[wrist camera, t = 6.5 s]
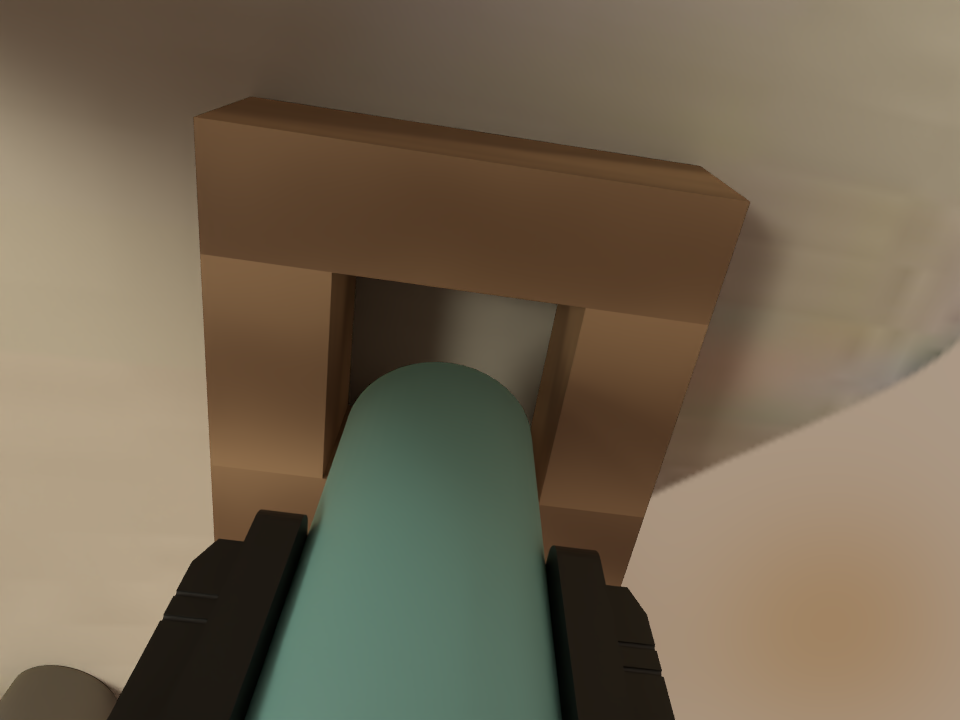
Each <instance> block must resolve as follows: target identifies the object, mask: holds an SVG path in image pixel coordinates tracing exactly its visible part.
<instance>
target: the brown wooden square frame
mask: <svg viewBox="0 0 960 720" xmlns="http://www.w3.org/2000/svg"><path fill="white" fill-rule="evenodd" d="M193 119H194V139H195V159H196V179H197V199H198V219H199V239H200V259H201V279H202V299H203V319H204V339H205V359H206V379H207V399H208V419H209V439H210V459H211V479H212V499H213V519H214V540H215V541H217V540H218V539H227V540H236V541H244V540H245V537H246V535H247V533H248V531H249V529H250V527H251V524H252V522H253V520H254V518H255V516H256V514H257V512H258V511H259V510H261V509H263V510H272V511H280V512H288V513H297V514H305V515H307V517H308V533H309V530H310V527H311V524H312V521H313V518H314V515H315V512H316V509H317V506H318V504H319V501H320V498H321V495H322V492H323V489H324V486H325V483H326V480H327V477H328V474H329V471H330V469H331V466H332V463H333V460H334V457H335V454H336V451H337V448H338V445H339V442H340V439H341V436H342V434H343V431H344V428H345V425H346V422H347V419H348V416H349V413H350V411H351V409H352V407H353V406H349V405H348V398H349V382H350V367H351V351H352V336H353V320H354V305H355V289H356V276H361V277H368V278H375V279H382V280H389V281H397V282H404V283H411V284H418V285H425V286H432V287H439V288H447V289H454V290H461V291H468V292H475V293H482V294H489V295H496V296H504V297H511V298H518V299H525V300H532V301H539V302H546V303H554V304H558V305H557V310H556V314H555V319H554V323H553V328H552V333H551V337H550V342H549V346H548V351H547V356H546V360H545V365H544V369H543V374H542V379H541V383H540V388H539V392H538V397H537V402H536V406H535V411H534V415H533V420H532V425H531V429H530V430H531V436H532V445H533V454H534V463H535V473H536V482H537V491H538V501H539V510H540V519H541V528H542V538H543V547H544V556H545V564H546V560H547V557H548V553H549V550H550V548H551V546H552V545H556V546H564V547H572V548H580V549H589V550H596V551H597V552H598V553H599V555H600V559H601V563H602V568H603V573H604V578H605V583H606V585H611V586H620V587H621V584H622V581H623V578H624V575H625V572H626V569H627V566H628V563H629V560H630V557H631V554H632V551H633V548H634V545H635V542H636V539H637V536H638V533H639V531H640V528H641V525H642V522H643V519H644V515H645V513H646V510H647V507H648V504H649V501H650V498H651V495H652V492H653V489H654V486H655V483H656V480H657V477H658V474H659V471H660V468H661V465H662V462H663V459H664V456H665V453H666V450H667V447H668V444H669V441H670V438H671V435H672V432H673V430H674V427H675V424H676V421H677V418H678V415H679V412H680V409H681V406H682V403H683V400H684V397H685V394H686V391H687V388H688V385H689V382H690V379H691V376H692V373H693V370H694V367H695V364H696V361H697V358H698V355H699V352H700V349H701V346H702V343H703V340H704V337H705V334H706V331H707V328H708V326H709V323H710V320H711V317H712V314H713V311H714V308H715V305H716V302H717V299H718V296H719V293H720V290H721V287H722V284H723V281H724V278H725V275H726V272H727V269H728V266H729V263H730V260H731V257H732V254H733V251H734V248H735V245H736V242H737V239H738V236H739V233H740V230H741V227H742V225H743V222H744V219H745V216H746V213H747V210H748V207H749V204H750V201H748V200H747V199H746V198H744V197H743V196H741V195H740V194H739V193H737V192H736V191H734V190H733V189H732V188H730V187H729V186H727V185H726V184H725V183H723V182H722V181H720V180H719V179H718V178H716V177H715V176H713V175H712V174H711V173H709V172H708V171H706V170H705V169H704V168H702V167H701V166H696V165H690V164H683V163H677V162H670V161H664V160H657V159H651V158H644V157H638V156H631V155H625V154H619V153H612V152H606V151H599V150H593V149H586V148H580V147H573V146H567V145H560V144H554V143H548V142H541V141H535V140H528V139H522V138H515V137H509V136H502V135H496V134H489V133H483V132H477V131H470V130H464V129H457V128H451V127H444V126H438V125H431V124H425V123H418V122H412V121H406V120H399V119H393V118H386V117H380V116H373V115H367V114H360V113H354V112H347V111H341V110H335V109H328V108H322V107H315V106H309V105H302V104H296V103H289V102H283V101H277V100H270V99H264V98H257V97H248V98H245V99H243V100H240V101H237V102H234V103H231V104H228V105H226V106H223V107H220V108H217V109H214V110H212V111H209V112H206V113H203V114H200V115H198V116H195V117H193ZM307 536H308V535H307Z"/></svg>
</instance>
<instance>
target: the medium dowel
mask: <svg viewBox="0 0 960 720" xmlns="http://www.w3.org/2000/svg"><path fill="white" fill-rule="evenodd" d="M244 720H562V714H561V704H560V695H559V686H558V677H557V667H556V658H555V649H554V639H553V630H552V621H551V612H550V602H549V593H548V584H547V575H546V565H545V556H544V547H543V538H542V528H541V519H540V510H539V501H538V491H537V482H536V473H535V463H534V454H533V445H532V436H531V430H530V425H529V422H528V419H527V416H526V414H525V412H524V410H523V408H522V406H521V405H520V404H519V402H518V401H517V399H516V398H515V397H514V396H513V395H512V394H511V393H510V392H509V390H508V389H507V388H505V387H504V386H503V385H502V384H500V383H499V382H498V381H496V380H495V379H493V378H492V377H490V376H488V375H487V374H484V373H482V372H480V371H478V370H476V369H473V368H470V367H466V366H463V365H458V364H453V363H444V362H424V363H418V364H412V365H408V366H404V367H401V368H398V369H396V370H393V371H391V372H389V373H387V374H385V375H383V376H382V377H380V378H378V379H377V380H376V381H374V382H373V383H372V384H370V385H369V386H368V387H367V388H366V389H365V390H364V391H363V392H362V393H361V395H360V396H359V397H358V399H357V400H356V402H355V403H354V405H353V407H352V409H351V411H350V413H349V416H348V419H347V422H346V425H345V428H344V431H343V434H342V436H341V439H340V442H339V445H338V448H337V451H336V454H335V457H334V460H333V463H332V466H331V469H330V471H329V474H328V477H327V480H326V483H325V486H324V489H323V492H322V495H321V498H320V501H319V504H318V506H317V509H316V512H315V515H314V518H313V521H312V524H311V527H310V530H309V533H308V536H307V538H306V541H305V544H304V547H303V550H302V553H301V556H300V559H299V562H298V565H297V568H296V571H295V573H294V576H293V579H292V582H291V585H290V588H289V591H288V594H287V597H286V600H285V603H284V606H283V608H282V611H281V614H280V617H279V620H278V623H277V626H276V629H275V632H274V635H273V638H272V640H271V643H270V646H269V649H268V652H267V655H266V658H265V661H264V664H263V667H262V670H261V673H260V675H259V678H258V681H257V684H256V687H255V690H254V693H253V696H252V699H251V702H250V705H249V708H248V710H247V713H246V716H245V719H244Z"/></svg>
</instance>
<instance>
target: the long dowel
mask: <svg viewBox="0 0 960 720" xmlns="http://www.w3.org/2000/svg"><path fill="white" fill-rule="evenodd" d="M116 702H117V701H116V699H115V696H114V695H113V693H112V692H111V691H110V690H109V689H108V687H106V686H105V685H104V684H103V683H102V682H100V681H99V680H97V679H96V678H94V677H92V676H90V675H88V674H86V673H84V672H81V671H79V670H75V669H72V668H68V667H62V666H38V667H34V668H31V669H28V670H26V671H24V672H22V673H21V674H20V675H18V676H17V678H16V679H15V680H14V682H13V683H12V684H11V686H10V687H9V689H8V690H7V692H6V693H5V694H4V696H3V697H2V699H1V700H0V720H107V718H108V716H109V715H110V713H111V711H112V709H113V708H114V706H115V704H116Z"/></svg>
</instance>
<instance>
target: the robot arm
mask: <svg viewBox="0 0 960 720" xmlns="http://www.w3.org/2000/svg"><path fill="white" fill-rule="evenodd" d="M307 535H308V517H307V515H305V514H297V513H288V512H280V511H272V510H263V509H261V510H259V511H258V512H257V514H256V516H255V518H254V520H253V522H252V524H251V527H250V529H249V531H248V533H247V535H246V537H245V540H244V541H236V540H227V539H218V540H217V541H215V542H214V543H213V544H212V545H211V546H210V547H208V548H207V549H206V550H205V551H204V552H203V553H201V554H200V555H199V556H198V557H197V558H196V559H194V560H193V561H192V563H191V564H190V566H189V568H188V570H187V572H186V574H185V576H184V577H183V579H182V581H181V583H180V585H179V587H178V589H177V592H176V595H175V596H173V598H172V600H171V602H170V603H169V605H168V607H167V609H166V611H165V613H164V617H163V620H162V621H160V622H159V624H158V626H157V628H156V630H155V631H154V633H153V635H152V637H151V639H150V641H149V643H148V644H147V646H146V648H145V650H144V652H143V654H142V656H141V657H140V659H139V661H138V663H137V665H136V667H135V669H134V670H133V672H132V674H131V676H130V678H129V680H128V682H127V683H126V685H125V687H124V689H123V691H122V693H121V695H120V696H119V698H118V700H117V702H116V704H115V706H114V708H113V709H112V711H111V713H110V715H109V716H108V718H107V720H244V719H245V716H246V713H247V710H248V708H249V705H250V702H251V699H252V696H253V693H254V690H255V687H256V684H257V681H258V678H259V675H260V673H261V670H262V667H263V664H264V661H265V658H266V655H267V652H268V649H269V646H270V643H271V640H272V638H273V635H274V632H275V629H276V626H277V623H278V620H279V617H280V614H281V611H282V608H283V606H284V603H285V600H286V597H287V594H288V591H289V588H290V585H291V582H292V579H293V576H294V573H295V571H296V568H297V565H298V562H299V559H300V556H301V553H302V550H303V547H304V544H305V541H306V538H307ZM545 565H546V575H547V584H548V593H549V602H550V612H551V621H552V630H553V639H554V649H555V658H556V667H557V677H558V686H559V695H560V704H561V714H562V720H675V718H674V715H673V710H672V707H671V703H670V699H669V696H668V692H667V688H666V684H665V681H664V677H662V676H661V671H662V669H661V666H660V662H659V658H658V654H657V651H655V649H654V647H655V644H654V639H653V636H652V632H651V629H650V625H649V621H648V617H647V614H646V613H645V611H644V610H643V609H642V608H641V606H640V604H639V603H638V602H637V600H636V599H635V597H634V596H633V595H632V593H631V592H630V590H629V589H628V588H627V587H620V586H611V585H606V583H605V578H604V573H603V568H602V563H601V559H600V555H599V553H598V552H597V551H596V550H589V549H580V548H572V547H564V546H556V545H552V546H551V548H550V550H549V553H548V557H547V560H546V564H545Z"/></svg>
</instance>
